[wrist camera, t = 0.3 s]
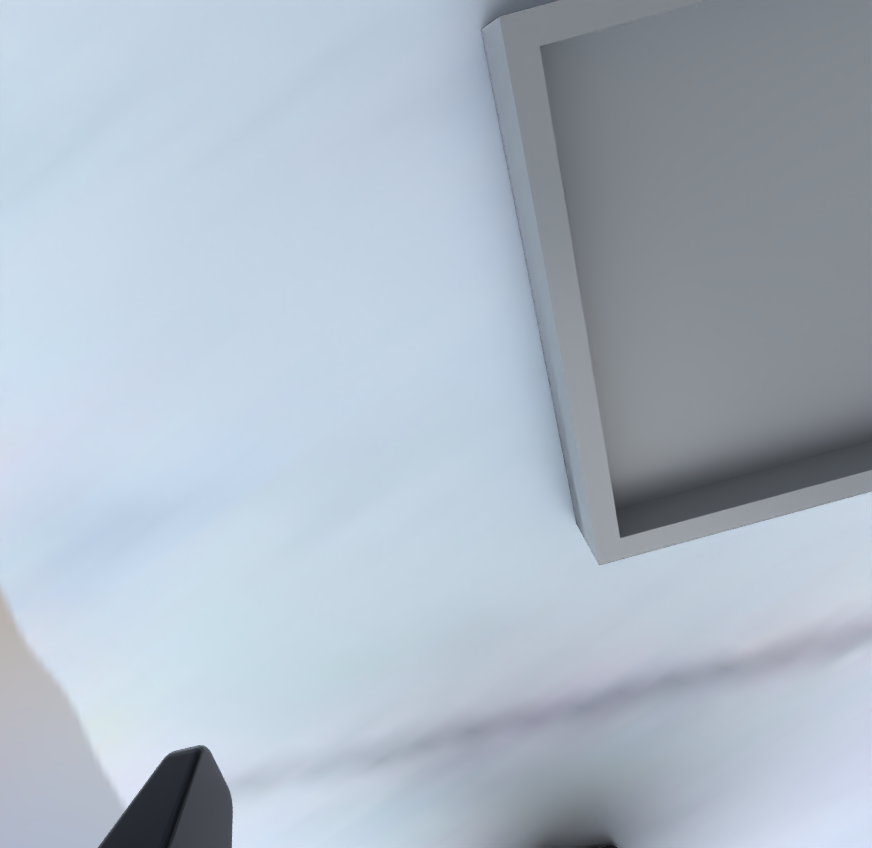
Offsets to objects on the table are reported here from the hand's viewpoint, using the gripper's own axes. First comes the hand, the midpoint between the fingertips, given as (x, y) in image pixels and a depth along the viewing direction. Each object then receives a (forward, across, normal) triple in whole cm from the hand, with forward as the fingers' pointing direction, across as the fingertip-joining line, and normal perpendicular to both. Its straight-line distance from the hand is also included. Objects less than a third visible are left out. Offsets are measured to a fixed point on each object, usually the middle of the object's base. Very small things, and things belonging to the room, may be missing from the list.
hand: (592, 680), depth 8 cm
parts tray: (+14, -11, 0) cm, 18 cm away
